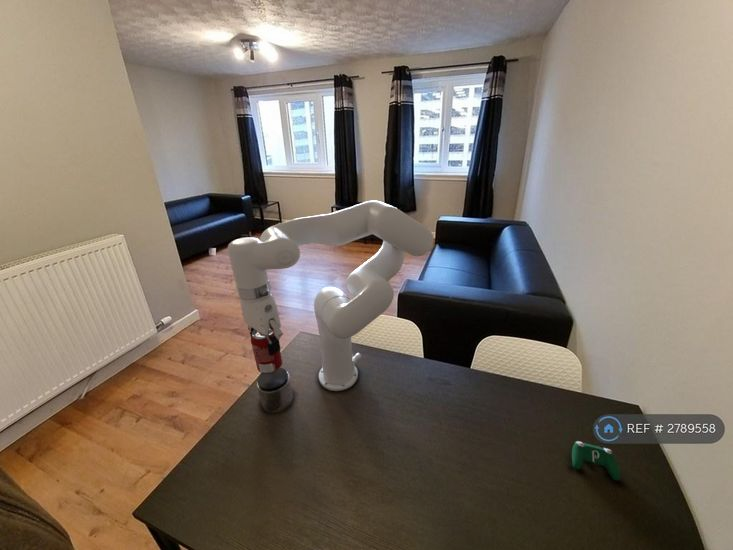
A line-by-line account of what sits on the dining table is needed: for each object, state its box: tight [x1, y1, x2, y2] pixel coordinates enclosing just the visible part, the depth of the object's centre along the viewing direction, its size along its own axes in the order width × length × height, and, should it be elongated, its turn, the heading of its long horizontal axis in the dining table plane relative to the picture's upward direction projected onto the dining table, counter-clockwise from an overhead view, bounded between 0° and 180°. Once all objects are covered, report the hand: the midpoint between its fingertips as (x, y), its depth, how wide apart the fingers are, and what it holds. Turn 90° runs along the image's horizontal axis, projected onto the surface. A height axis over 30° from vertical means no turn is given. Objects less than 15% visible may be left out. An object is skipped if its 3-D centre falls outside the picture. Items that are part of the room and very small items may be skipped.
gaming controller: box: [571, 440, 621, 481], centre depth 71 cm, size 9×4×6 cm
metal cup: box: [256, 366, 294, 413], centre depth 88 cm, size 9×9×9 cm
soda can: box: [250, 328, 283, 374], centre depth 81 cm, size 7×7×12 cm
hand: (266, 346), depth 81 cm, fingers closed on soda can, 6 cm apart
